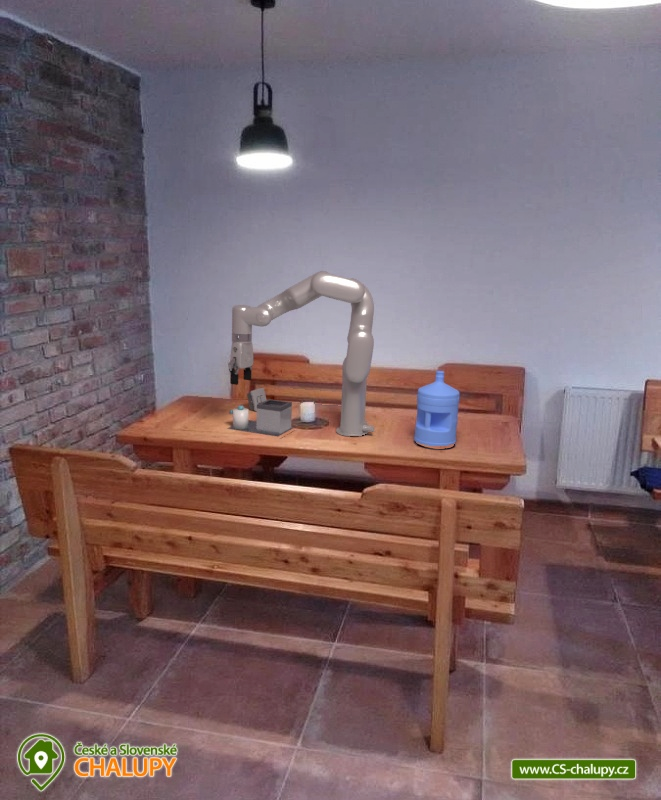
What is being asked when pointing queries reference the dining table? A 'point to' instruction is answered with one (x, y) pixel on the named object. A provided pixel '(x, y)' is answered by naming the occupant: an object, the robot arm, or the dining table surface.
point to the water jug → (437, 413)
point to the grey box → (271, 418)
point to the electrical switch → (256, 398)
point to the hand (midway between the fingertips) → (240, 382)
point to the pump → (240, 417)
